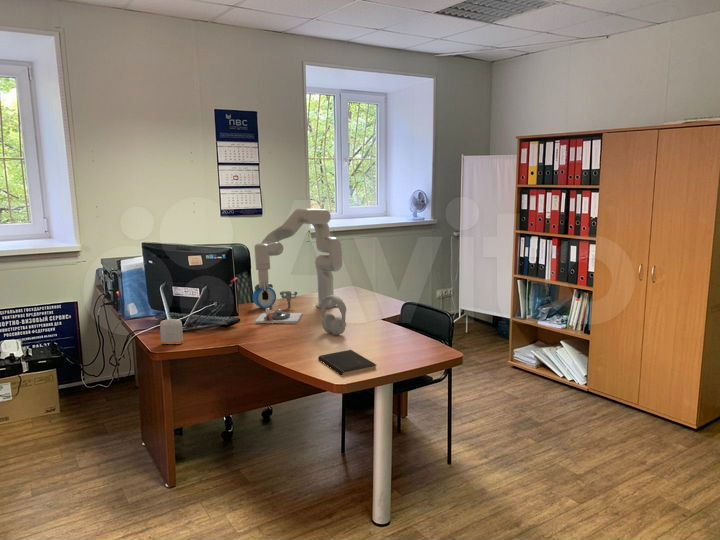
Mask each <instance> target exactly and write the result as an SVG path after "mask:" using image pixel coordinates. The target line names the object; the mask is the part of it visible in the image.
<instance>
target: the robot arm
mask: <svg viewBox="0 0 720 540" xmlns="http://www.w3.org/2000/svg"><path fill="white" fill-rule="evenodd" d="M331 218H332V216H331V212H330V211H329V210H328V209H325V208H324V209H323V208H296V209H295V210H294V211H293V212H292V213H291V214H290V216H288V218H287V219H286V220H285V222H283V224H282V225H281V226H279V227H277V228H275V229H274V230H272V231H271V232H269V233H268V234H267V235H266V236H265V237H264V239H262V241H261V243H257V244H255V245H254V259H255V270H256V271H258V273H257V275H258V276H257V277H258V284H259V288H262V299H263V300H268V292H267V288H268V284H269V283H270V282H269V279H270V278H269V270H271V261H270V257H271V256H272V257H273V256H274V257H275V256H280V255H282V253H283V251H284V245H283V243H281V241H282V240H285V239H289V238H291V237H294V235H295V234H296V233H297V232H298V231H299V230H300V229H301V227H302V226H303V225H312V226H313V229H314V231H315V232H314V233H315V242H316V243H315V245H316V249H317V251H318V252H321V253H322V254H319V255H317V256H316V258H315V260H314V263H315V264H314V265H315V269H316V276H317V277H316V278H317V292H318V293H317V299H318V301H317V303H315V307H317V308H320V309H321V301H322V300H323V299H324V298H325V297H326V296H329V295H335V292H334V291H335V290H334V275H333V274H334V273H333V272H336V273H337V272H338V271H340V270H341V269H342V266H343V251H342V244H341V241H340V239H339V238H337V237H335V236H331V231H330V230H331V229H330V226H329V224H328V223H330V221H331ZM326 253H327V254H326ZM334 306H335V307H337V304H336V303H335V302H334V301H333V300H332V299H330V300H329V301H328V303H327V305H326V307H325V309H330V308H334Z"/></svg>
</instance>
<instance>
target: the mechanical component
mask: <svg viewBox="0 0 720 540" xmlns="http://www.w3.org/2000/svg"><path fill="white" fill-rule="evenodd" d="M279 295H280V296H281V298H282V299H286V301H287V309H291V301H292V299H295V298H296V297H297V295H298V291H294V292H293V293H292V291H290V290H289V291H288V290H287V291H286V290H285V291H283V290H282V291H280V292H279Z"/></svg>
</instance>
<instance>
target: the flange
mask: <svg viewBox="0 0 720 540" xmlns="http://www.w3.org/2000/svg"><path fill="white" fill-rule="evenodd" d="M270 308H271V307H270ZM270 308H265V313H266V317H264V320H269V315H272V318H273V319H285V318H288V317H290V313H291V312H288V311H283V309H282V308H276V309H275V312H271V309H270Z"/></svg>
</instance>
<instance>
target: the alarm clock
mask: <svg viewBox="0 0 720 540" xmlns="http://www.w3.org/2000/svg"><path fill="white" fill-rule="evenodd" d="M273 287H274V286H273V284H272V283H271V282H269V284H268V288H267V292H268V300H263V299H262V288H259V283H258V284H256V285H255V286H254V291H253V293H252V301H253V303H254V305H256V306H257V307H259V308H260V310H262V309H266V308H271V307H272V306H273V305H274V304H275V303H276V300H277V294H276V291H275V290H274V288H273Z"/></svg>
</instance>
